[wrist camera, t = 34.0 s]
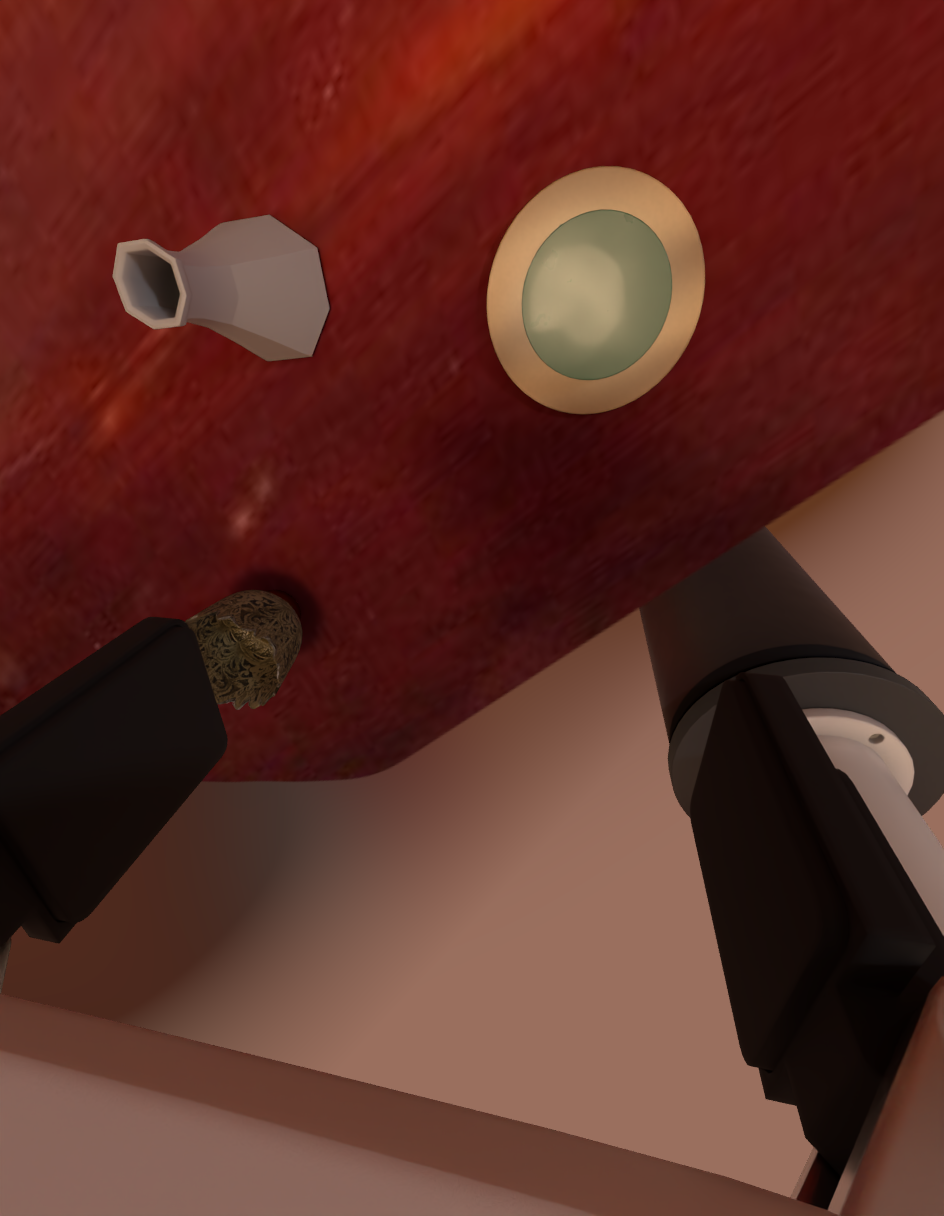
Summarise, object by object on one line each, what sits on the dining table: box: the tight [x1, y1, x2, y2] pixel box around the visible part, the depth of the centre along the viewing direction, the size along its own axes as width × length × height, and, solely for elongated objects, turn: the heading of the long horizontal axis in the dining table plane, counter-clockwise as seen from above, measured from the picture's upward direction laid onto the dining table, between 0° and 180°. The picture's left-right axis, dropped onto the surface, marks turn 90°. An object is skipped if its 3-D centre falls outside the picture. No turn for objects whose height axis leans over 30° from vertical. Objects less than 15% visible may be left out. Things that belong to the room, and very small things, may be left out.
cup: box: [185, 590, 302, 710], centre depth 37 cm, size 8×7×8 cm
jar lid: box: [522, 209, 672, 380], centre depth 26 cm, size 7×7×2 cm
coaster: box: [487, 166, 705, 414], centre depth 27 cm, size 11×11×1 cm
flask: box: [113, 215, 329, 361], centre depth 25 cm, size 7×7×10 cm
